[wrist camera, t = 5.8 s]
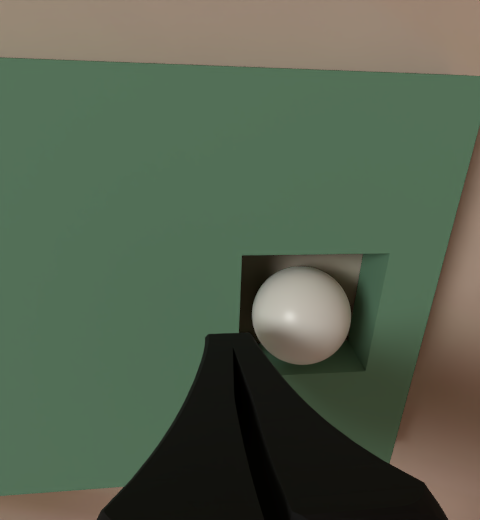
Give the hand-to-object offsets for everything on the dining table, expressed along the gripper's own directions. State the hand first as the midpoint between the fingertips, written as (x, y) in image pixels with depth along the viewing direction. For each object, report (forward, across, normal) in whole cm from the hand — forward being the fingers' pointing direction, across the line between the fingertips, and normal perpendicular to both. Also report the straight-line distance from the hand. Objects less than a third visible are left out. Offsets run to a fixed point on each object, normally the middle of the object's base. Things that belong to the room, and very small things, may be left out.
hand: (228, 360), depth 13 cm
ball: (+2, -3, 0) cm, 4 cm away
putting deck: (+4, +2, 0) cm, 5 cm away
